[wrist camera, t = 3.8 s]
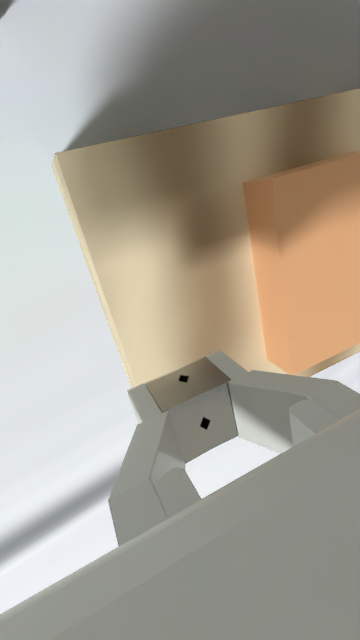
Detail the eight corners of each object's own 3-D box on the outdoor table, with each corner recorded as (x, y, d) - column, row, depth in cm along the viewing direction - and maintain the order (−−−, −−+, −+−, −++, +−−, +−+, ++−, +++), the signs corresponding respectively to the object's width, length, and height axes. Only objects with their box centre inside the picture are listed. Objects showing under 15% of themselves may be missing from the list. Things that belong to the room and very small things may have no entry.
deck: (405, 87, 20) (482, 62, 17) (394, 292, 26) (449, 306, 22) (51, 166, 14) (55, 153, 11) (138, 408, 20) (159, 451, 17)
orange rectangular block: (349, 152, 15) (389, 145, 14) (351, 320, 19) (382, 331, 17) (242, 182, 14) (272, 179, 12) (266, 359, 17) (291, 376, 16)
